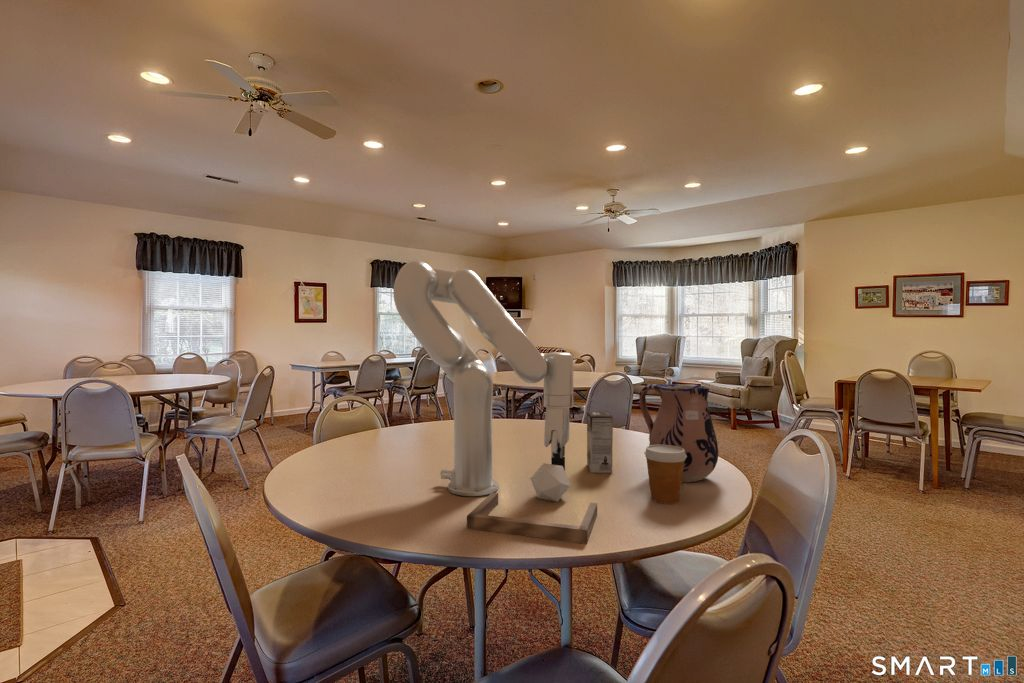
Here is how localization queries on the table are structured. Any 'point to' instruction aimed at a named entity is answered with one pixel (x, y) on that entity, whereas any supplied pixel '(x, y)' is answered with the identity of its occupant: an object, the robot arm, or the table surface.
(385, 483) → the table surface
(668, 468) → the disposable coffee cup
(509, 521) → the wooden u-shaped frame
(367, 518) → the table surface
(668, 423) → the ceramic pitcher
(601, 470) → the coffee box
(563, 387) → the robot arm
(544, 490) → the die
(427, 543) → the table surface
